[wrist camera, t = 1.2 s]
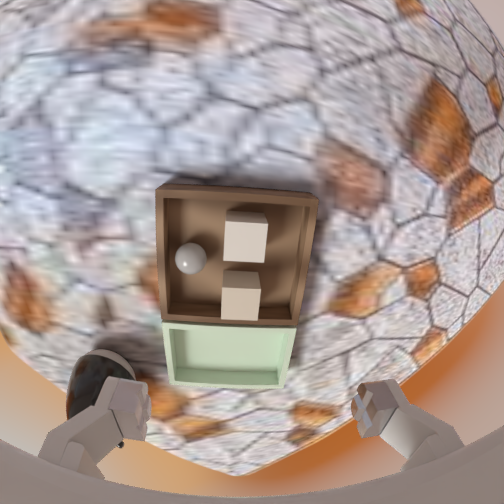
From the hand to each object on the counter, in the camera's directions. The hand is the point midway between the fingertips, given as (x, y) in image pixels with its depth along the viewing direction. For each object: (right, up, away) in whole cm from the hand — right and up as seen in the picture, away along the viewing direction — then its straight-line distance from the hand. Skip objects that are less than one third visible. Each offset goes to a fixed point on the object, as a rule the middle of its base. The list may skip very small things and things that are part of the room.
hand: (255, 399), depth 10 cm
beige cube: (-2, +1, +25) cm, 25 cm away
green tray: (-3, -7, +29) cm, 30 cm away
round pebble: (-7, +5, +23) cm, 24 cm away
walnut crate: (-2, +5, +24) cm, 25 cm away
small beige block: (-1, +8, +22) cm, 23 cm away
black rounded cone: (-22, -12, +30) cm, 39 cm away
